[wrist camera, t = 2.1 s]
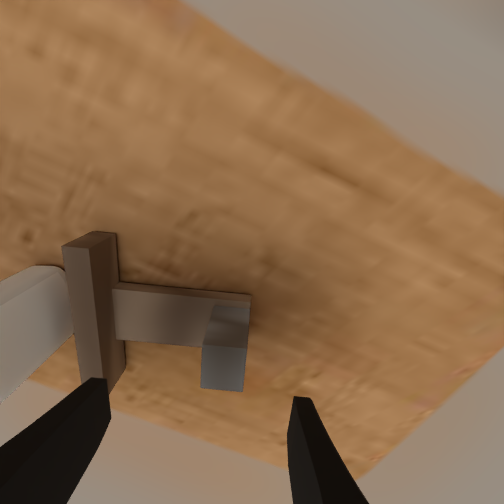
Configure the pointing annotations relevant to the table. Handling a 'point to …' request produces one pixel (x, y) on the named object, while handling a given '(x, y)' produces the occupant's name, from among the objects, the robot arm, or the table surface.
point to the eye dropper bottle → (31, 322)
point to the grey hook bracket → (149, 317)
